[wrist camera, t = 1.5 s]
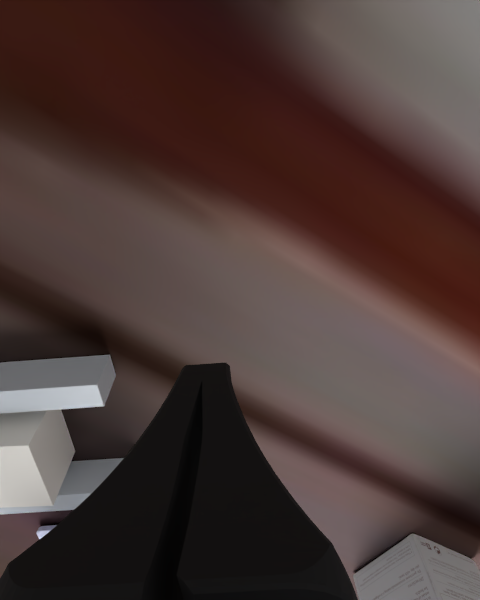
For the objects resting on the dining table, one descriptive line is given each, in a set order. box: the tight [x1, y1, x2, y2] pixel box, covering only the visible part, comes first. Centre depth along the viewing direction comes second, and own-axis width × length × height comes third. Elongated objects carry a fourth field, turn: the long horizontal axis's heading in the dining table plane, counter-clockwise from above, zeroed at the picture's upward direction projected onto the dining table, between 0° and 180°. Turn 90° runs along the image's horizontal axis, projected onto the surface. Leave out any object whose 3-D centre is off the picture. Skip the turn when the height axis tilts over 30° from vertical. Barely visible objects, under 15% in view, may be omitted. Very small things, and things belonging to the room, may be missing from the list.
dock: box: [0, 355, 124, 514], centre depth 25 cm, size 10×11×2 cm
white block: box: [0, 409, 75, 508], centre depth 24 cm, size 5×6×4 cm
